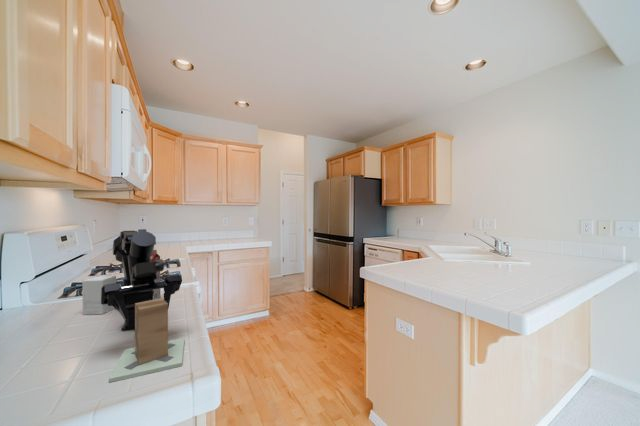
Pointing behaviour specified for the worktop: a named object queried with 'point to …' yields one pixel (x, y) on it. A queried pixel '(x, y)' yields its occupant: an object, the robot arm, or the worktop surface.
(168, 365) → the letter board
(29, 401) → the worktop surface
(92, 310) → the supplement box
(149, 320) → the walnut block
